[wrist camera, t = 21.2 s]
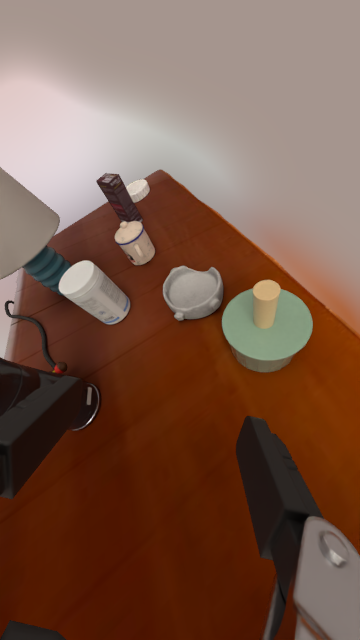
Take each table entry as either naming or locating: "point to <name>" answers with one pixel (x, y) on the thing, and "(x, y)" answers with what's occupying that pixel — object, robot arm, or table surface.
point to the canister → (260, 362)
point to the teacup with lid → (135, 242)
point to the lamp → (28, 235)
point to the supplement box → (119, 197)
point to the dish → (193, 292)
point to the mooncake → (138, 190)
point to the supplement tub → (94, 292)
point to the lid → (267, 322)
